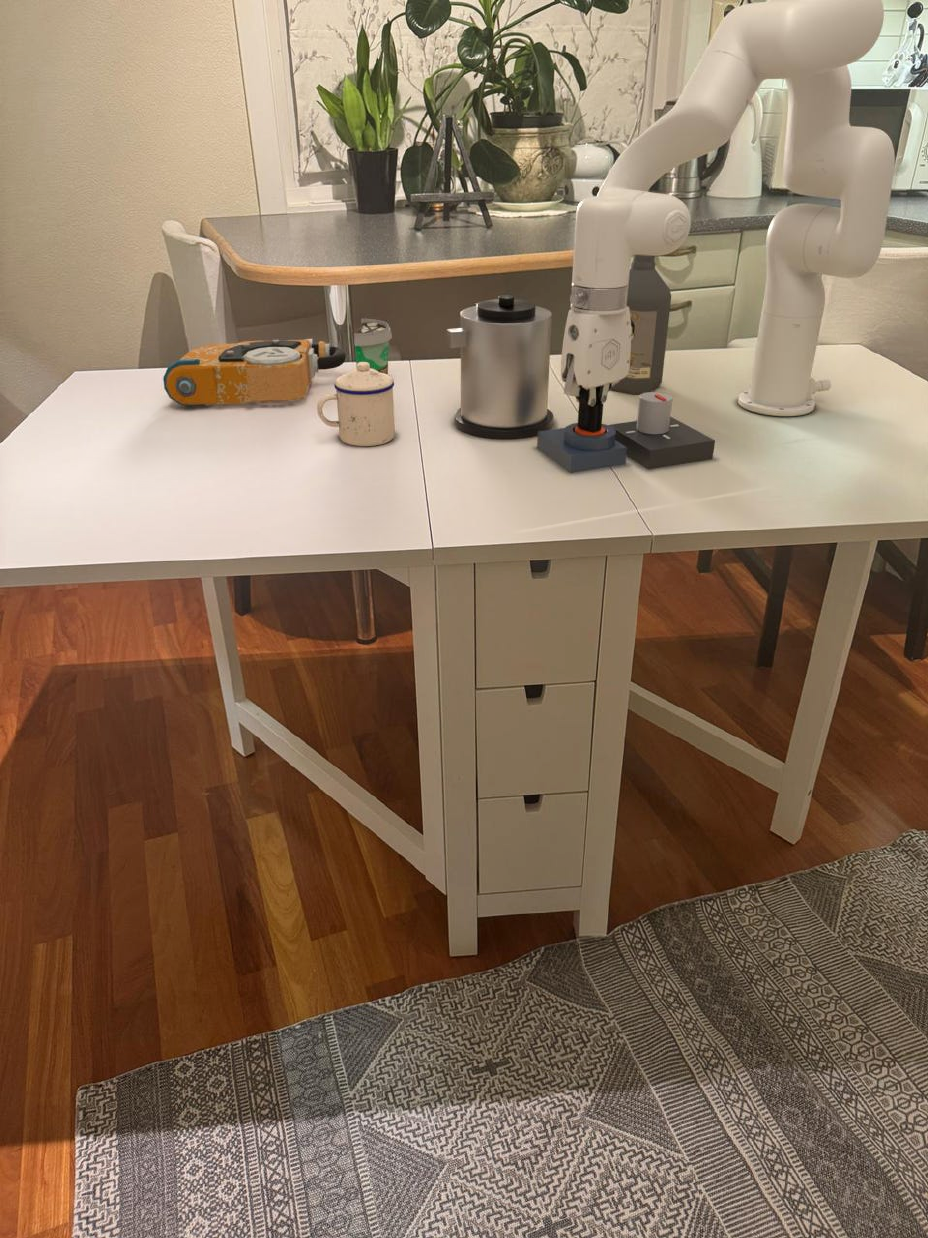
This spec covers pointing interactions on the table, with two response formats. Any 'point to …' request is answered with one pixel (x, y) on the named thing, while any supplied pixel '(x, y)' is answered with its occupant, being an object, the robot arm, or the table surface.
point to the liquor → (646, 327)
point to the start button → (587, 433)
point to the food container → (373, 344)
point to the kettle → (503, 369)
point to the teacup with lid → (363, 407)
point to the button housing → (582, 449)
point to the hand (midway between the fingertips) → (589, 428)
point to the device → (249, 372)
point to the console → (664, 445)
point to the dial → (654, 413)
